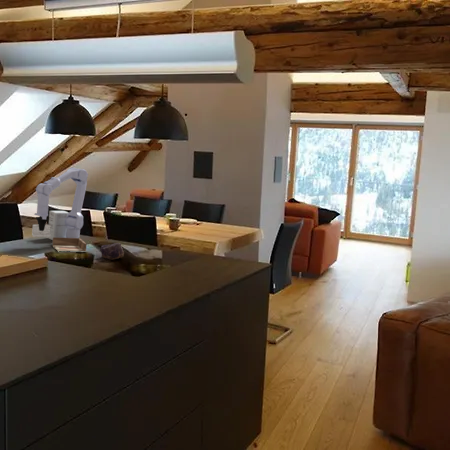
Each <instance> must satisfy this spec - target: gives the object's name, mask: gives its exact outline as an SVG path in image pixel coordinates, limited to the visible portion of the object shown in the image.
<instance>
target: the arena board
mask: <svg viewBox="0 0 450 450" xmlns="http://www.w3.org/2000/svg"><path fill="white" fill-rule="evenodd" d="M52 247H53V249H54V250H55V249H56V250H57V251H84V250H82V249H81V248H80V247H79V246H78V245H53V244H52ZM56 250H55V251H56ZM57 251H56V252H57Z"/></svg>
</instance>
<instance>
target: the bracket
mask: <svg viewBox="0 0 450 450" xmlns="http://www.w3.org/2000/svg"><path fill="white" fill-rule="evenodd" d="M31 236H32V237H33V238H48V237H51V235H50V225H49V224H46V225H45V228H44V231H40V230H39V224H38V223H37V224H36V223H35V224H32V230H31Z"/></svg>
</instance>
